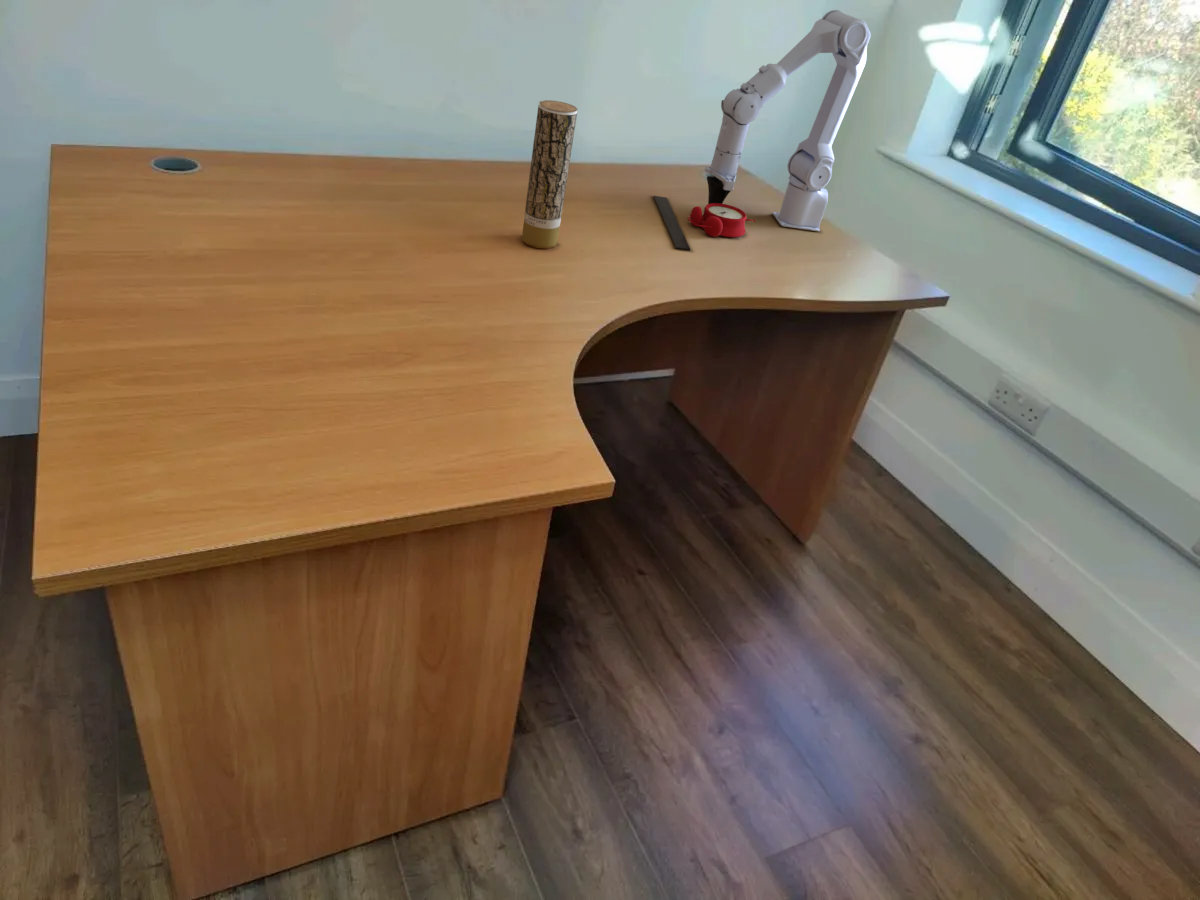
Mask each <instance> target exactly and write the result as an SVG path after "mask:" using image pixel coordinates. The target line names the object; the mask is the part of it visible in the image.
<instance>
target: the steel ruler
mask: <svg viewBox="0 0 1200 900" xmlns="http://www.w3.org/2000/svg"><path fill="white" fill-rule="evenodd" d="M653 200H654V202H655V204H656V207H657V209H658V211H659V213H660V216H661V218H662V221H663V223H664V225H665V227H666V229H667V232H668V234H669V237H670V239H671V241H672V244H673V246H674V248H675V249H676V250H682V251H688V252H690V251H691V247H690V245H689V243H688V241H687V239H686V236H685V234H684V232H683V230H682V228H681V226H680V223H679V221H678V219H677V218H676V216H675V213H674V211H673V209H672V207H671V205H670V202H669V200H668V198H667V197H665V196H658V195H653Z"/></svg>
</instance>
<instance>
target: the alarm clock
mask: <svg viewBox="0 0 1200 900" xmlns="http://www.w3.org/2000/svg"><path fill="white" fill-rule="evenodd" d="M687 221H688V222H690V225H692V226H693V227H700V228H701V229H703V230H704V232H705V234H706V235H708V236H709V237H712V238H713V237H714V238H715V237H718V236H721V237H726V238H739V237H742V236H745V234H746V228H745V227H746V225H745V224H746V221H748V222H749V221H750V222H754V223H755V222H756V219H750V218H747V213H746V212H745V211H744V210H742V209H741V208H739V207H736V206H734V205H730V204H727V203H722V204H721V203H711V204H708V203H707V204H706V205H705V206H704V209H703V210H702V207H700V205H699V206H698V205H696V206H694V207H692V209H691V211H690V214H689V216H688V217H687Z"/></svg>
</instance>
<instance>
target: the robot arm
mask: <svg viewBox="0 0 1200 900" xmlns="http://www.w3.org/2000/svg"><path fill="white" fill-rule="evenodd" d="M871 37H872V34H871V31H870V29H869V26H868V24H867V22H865V20H863V19H862V18H858V17H855V16H852V15H849V14H846V13H844V12H842V11H841V10H838V9H831V10H829V11H827V12H826V13H825V14H823V16H822V18H819V19H818V20H816V21H815V22H814V24H813V26H812V28H811V30H810V31H809V32H808V33H807V34H806V35H805V36H804V37H803V38H802V39H801V40H799V42H797V44H795V45H794V46H793V48H792V49H790V50H789V51H788V52H787V54H785V55H784V56H783V57H782V58H781V59H780V60H779V61H778V62H777V63H767V64H766V65H761V66H760V67H759V68H758V72H756V74H755V75H753V76H752V77H751V78H749V80H748V81H746V82H743V83H742V84H741V85H740V88H735V89H732V90H730V91H729V92H728V93H727V94H726V95H725V97H724V99H722V100H720V101H721V102H720V107H721V111H722V118H721V125H720V128H719V132H718V136H717V140H716V145H715V149H714V153H713V156H712V159H711V162H710V163H711V164H710V166H705V167H704V171H705V173H708V174H710V175H712V176H709V175H708V176H706V181H707V188H708V189H707V190H708V196H707V197H708V198H707V204H711V203H721V204H724V202H725V199H726V198H727V197H728V195H729V194H730V193H731V192H733V191H734V189H735V184H736V182H735V181H736V179H737V176H738V173H737V172H738V168H739V165H740V162H741V157H742V154H743V150H744V146H745V143H746V139H747V135H748V131H749V128H750V125H751V123H752V122H753V121H755V120H757V118H758V116H759V114H760V111H761V109H762V108H763V106H764V105H766V103H768V102H769V101H770V100H771V99H772V98H773V97H775V96H776V95H777V94H778V93H780V92H781V90H783V89H784V88H785V87H786V83H787V78H788V77H789V76H791V75H792V74H793V73H795V72H797V71H798V70H799V69H801V68H802V66H804V65H805V64H807V63H808V62H809V61H811V60H812V59H813V58H815V57H817V55H819V54H832V56H833V59H834V60H835V62H836V66H835V69H834V71H833V74H832V76H831V79H830V81H829V84H828V86H827V89H826V91H825V94H824V96H823V99H822V101H821V104H820V107H819V109H818V112H817V114H816V117H815V119H814V122H813V124H812V127H811V130H810V132H809V135H808V137H807V138H806V139H804V140H802V141H801V142H799V143H798V146H797V148H796V150H795V151H794V152H793V153H792V154H791V156H790V157H789V159H788V162H787V171H788V174H789V176H788V183H787V187H786V190H785V193H784V195H783V200H782V203H781V206H780V209H779V212H776V211H773V212H772V215H773V217H774V218H775V219H776V221H777V222H778V224H779V225H780V226H781V227H784V228H792V229H799V230H806V231H813V232H820V231H821V229H820V226H821V223H822V220H823V217H824V215H825V212H826V208H827V206H828V201H829V192H828V190H827V189H826V188H825V187H826V186H827V185H828V183H829V182H830V180H831V179H832V175H833V165H834V162H835V155H834V152H833V147H832V146H833V144H834V142H835V139H836V137H837V134H838V131H839V129H840V127H841V124H842V122H843V120H844V117H845V115H846V112H847V110H848V107H849V105H850V103H851V100H852V98H853V95H854V93H855V90H856V88H857V86H858V83H859V80H860V78H861V76H862V73H863V71H864V68H865V66H866V63H867V53H868V52H867V49H868V44H869V42H870V39H871Z"/></svg>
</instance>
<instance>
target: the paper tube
mask: <svg viewBox="0 0 1200 900" xmlns="http://www.w3.org/2000/svg"><path fill="white" fill-rule="evenodd" d="M578 110H579V109H578V107H576V106H574V105H572V104H571V103H567V102H564V101H559V100H552V99H551V100H550V99H543V100H540V101H539V102H538V105H537V113H536V122H535V129H534V138H533V145H532V152H531V161H530V168H529V176H528V184H527V193H526V200H525V207H524V208H525V209H524V216H523V223H522V224H523V225H522V231H521V232H522V233H521V240H522V241H523V242H524V243H525V244H526V245H528V246H530V247H532V248H536V249H546V250H547V249H551V248H555V246H556V245H557V244H558V242H559V241H558V240H559V234H560V227H561V221H562V215H563V208H564V201H565V196H566V190H567V189H566V188H567V182H568V176H569V168H570V162H571V155H572V151H573V143H574V137H575V130H576V124H577V117H578Z"/></svg>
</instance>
